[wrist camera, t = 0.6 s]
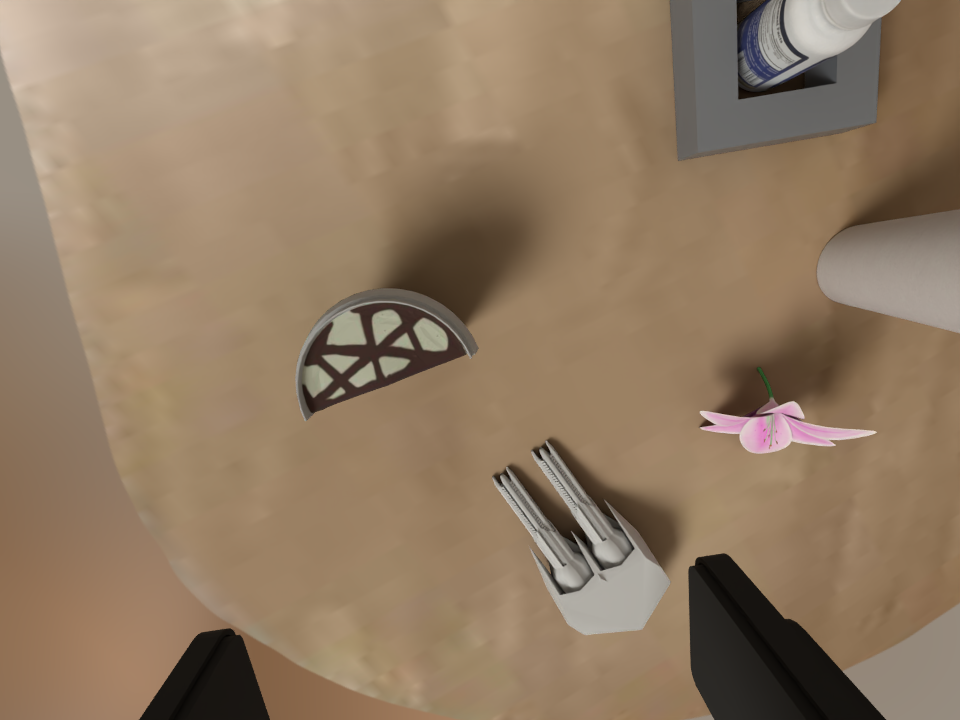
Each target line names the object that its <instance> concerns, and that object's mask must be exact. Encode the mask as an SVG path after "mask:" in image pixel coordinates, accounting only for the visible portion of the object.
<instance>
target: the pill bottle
mask: <svg viewBox="0 0 960 720" xmlns="http://www.w3.org/2000/svg"><path fill="white" fill-rule="evenodd" d="M900 1H901V0H766V1H765V2H764V3H762V4H761V5H760V6H759V7H758V8H756V9H755V10H754V11H753V12H752V13H750V14H749V15H748V16H747V17H746V18H745V19H743V20H742V21H741V22H740V24H739V25H738V26H737V58H738V86H739V87H741V88H742V89H745V90H747V91H751V92H762V91H766V90H769V89H772V88H774V87H776V86H778V85H780V84H782V83H784V82H786V81H788V80H790V79H792V78H794V77H796V76H798V75H800V74H801V73H803V72H805V71H807V70H809V69H811V68H813V67H815V66H817V65H819V64H821V63H823V62H824V61H826V60H828V59H830V58H832V57H834V56H836V55H838V54H840V53H842V52H844V51H845V50H846V49H848V48H850V47H851V46H853V45H854V44H855V43H856V42H857V41H858V40H859V39H860V38H861V37H862V36H863V35H864V34H865V33H866V31H867V30H868V29H869V27H870V26H871V24H872V23H873V22H874V21H876V20H877V19H879V18H881V17H882V16H884V15H886V14H887V13H889V12H890V11H891V10H892V9H894V8H895V7H896V6H897V5H898V3H899V2H900Z"/></svg>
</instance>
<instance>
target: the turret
mask: <svg viewBox="0 0 960 720" xmlns="http://www.w3.org/2000/svg"><path fill="white" fill-rule="evenodd" d="M545 442H546V444H547V446H548V448H549V450H550V454H551V455H550V454H549V453H548V452H547V451H546V450H545V449H543V448H542V447H540V448H539V451H540V454H541V456H542V459H543V460H544V461H543V460H542V459H541V458H538V456H537V455H536V454H535V453H534V451H533V450H531V453H532V455H533V457H534V460H535V461H536V463H537V464H538V465H539V466H540V468H541V469H542V471H543V472H544V473H545V475H546V476H547V478H548V479H549V481H550V482H551V483H552V485H553V486H554V488H555V489H556V490H557V492H558V493H559V495H560V496H561V497H562V498H563V500H564V501H565V503H566V504H567V506H568V507H569V508H570V510H571V513H572V515H573V516H574V518H575V519H576V520H577V522H578V523H579V525H580V526H581V527H582V529H583V530H584V532H585V535H586V540H587V545H588V546H587V545H586V544H585V543H584V542H583V541H582V540H581V539H579V538H578V537H577V536H576V535H575V534H574V533H573V532H572V531H571V532H572V534H573V536H574V537H575V539H576V541H577V543H578V545H579V546H578V545H576V544H575V543H573V542H571V541H570V540H568V539H566V538H565V537H563V536H562V535H560V533H559V532H558V531H557V529H556V528H555V527H554V525H553V524H552V523H551V522H550V521H549V520H548V519H547V518H546V517H545V515H544V514H543V512H542V511H541V510H540V508H539V507H538V506H537V504H536V503H535V501H534V500H533V499H532V497H531V496H530V495H529V493H528V492H527V490H526V489H525V488H524V486H523V485H522V483H521V482H520V481H519V480H518V478H517V477H516V475H515V474H514V473H513V472H512V471H511V470H510V469H509V468H508V467H506V468H507V469H506V470H507V472H508V474H509V475H510V477H511V480H510V479H509V478H508V477H507V476H505V475H504V474H503V473H501V474H500V478H501V481H502V483H503V485H504V486H505V487H504V486H503V485H502V483H501V484H500V483H499V482H498V481H497V480H496V478H495V477H494V476H492V479H493V481H494V484H495V486H496V487H497V489H498V490H499V491H500V493H501V494H502V495H503V497H504V498H505V499H506V501H507V502H508V504H509V505H510V506H511V508H512V509H513V510H514V512H515V513H516V515H517V516H518V517H519V519H520V520H521V521H522V523H523V524H524V526H525V527H526V528H527V530H528V531H529V532H530V534H531V535H532V538H533V539H534V541H535V543H536V544H537V545H538V547H539V548H540V549H541V551H542V552H543V554H544V555H545V556H546V558H547V559H548V561H549V566H550V570H551V574H550V573H549V572H548V570H547V569H546V568H545V566H544V565H543V564H542V562H541V561H540V560H539V558H538V557H537V556H536V555H535V553H534V552H533V551H532V549H531V548H530V550H531V552H532V554H533V557H534V559H535V561H536V564H537V566H538V568H539V571H540V573H541V575H542V578H543V580H544V582H545V585H546V587H547V589H548V591H549V592H550V594H551V596H552V598H553V599H554V601H555V603H556V605H557V606H558V608H559V610H560V612H561V613H562V615H563V617H564V618H565V620H566V622H567V624H568V625H569V626H571V627H573V628H574V629H576V630H577V631H579V632H581V633H582V634H584V635H589V634H600V633H611V632H622V631H633V630H642V629H643V627H644V625H645V624H646V622H647V620H648V619H649V617H650V616H651V614H652V612H653V611H654V609H655V607H656V606H657V604H658V602H659V601H660V599H661V598H662V596H663V594H664V593H665V591H666V589H667V588H668V586H669V585H670V583H671V582H670V580H669V579H668V577H667V575H666V574H665V572H664V571H663V569H662V568H661V566H660V565H659V563H658V562H657V560H656V558H655V557H654V555H653V554H652V552H651V551H650V549H649V548H648V546H647V545H646V543H645V541H644V540H643V538H642V537H641V535H640V534H639V532H638V531H637V530H636V529H635V528H634V527H633V526H632V525H631V524H630V523H629V522H628V521H627V520H625V519H624V518H623V517H622V516H621V515H620V514H619V513H618V512H617V511H616V510H615V509H614V508H613V507H612V506H611V505H610V504H609V503H608V502H607V501H606V500H604V501H605V502H606V504H607V505H608V507H609V508H610V510H611V512H612V513H613V515H614V516H615V518H616V519H617V521H618V522H616V521H615V520H613V519H611V518H610V517H608V516H607V515H605V514H603V513H602V512H601V511H600V509H599V508H598V507H597V505H596V504H595V502H594V501H593V500H592V498H591V497H589V496H588V495H587V493H586V492H585V491H584V489H583V488H582V486H581V485H580V484H579V482H578V481H577V479H576V478H575V477H574V475H573V474H572V472H571V471H570V470H569V468H568V467H567V465H566V464H565V463H564V461H563V460H562V458H561V457H560V456H559V454H558V453H557V451H556V450H555V449H554V447H553V446H552V445H551V444H550V443H549V442H548V441H545ZM553 459H554V460H553ZM555 461H556V462H555ZM546 464H547V465H546ZM558 466H559V467H558ZM548 467H549V468H548ZM560 468H561V469H560ZM563 473H564V474H563ZM553 474H554V475H553ZM565 475H566V476H565ZM556 478H557V479H556ZM568 480H569V481H568ZM570 482H571V483H570ZM559 483H560V484H559ZM561 485H562V486H561ZM564 490H565V491H564ZM509 493H510V494H509ZM522 496H523V497H522ZM569 496H570V497H569ZM524 498H525V499H524ZM514 500H515V501H514ZM527 503H528V504H527ZM517 504H518V505H517ZM529 505H530V506H529ZM522 511H523V512H522ZM534 512H535V513H534ZM530 522H531V523H530ZM551 575H552V576H551Z"/></svg>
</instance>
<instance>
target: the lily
mask: <svg viewBox="0 0 960 720" xmlns="http://www.w3.org/2000/svg"><path fill="white" fill-rule="evenodd" d="M757 370H758V371H759V373H760V375H761V377H762V379H763V381H764V383H765V385H766V387H767V390H768V393H769V399H770V401H769V402H768V403H767V404H765V405H763V406H761V407H760V408H758V409H756V410H754V411H753V412H751V413H749V414H747V415H745V416H743V417H737V416H731V415H724V414H719V413H714V412H707V411H700V414H701V415H702V416H703V417H705V418H706V419H707V420H709V421H711V422H712V423H714V424H716V425H713V426H707V427H700V428H701V429H703V430H707V431H713V432H720V433H729V434H740V436H739V437H740V442H741V444H742V445H743V447H744V448H745V449H747V450H748V451H750V452H753V453H769V452H774V451H778V450H781V449H783V448H785V447H787V446H788V445H789V444H790V442H791V441H794V442H799V443H804V444H811V445H819V446H836V445H835V444H833V443H832V442H830V441H829V440H844V439H852V438H858V437H863V436H868V435H872V434H875V433H876V431H869V430H854V429H840V428H829V427H823V426H817V425H813V424H809V423H804V422H802V421H801V420H799V419H798V418H800V419H804V415H803V412H802V410H801V409H800V407H799V405H798V404H797V403H796V402H794V401H792V402H788V403H785V404H783V405H778V404H777V403H776V402H775V400H774V397H773V394H772V390H771V387H770V384H769V382H768V381H767V379H766V377H765V375H764V373H763V371H762V370H761V368H760V367H758V368H757ZM797 417H798V418H797Z"/></svg>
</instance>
